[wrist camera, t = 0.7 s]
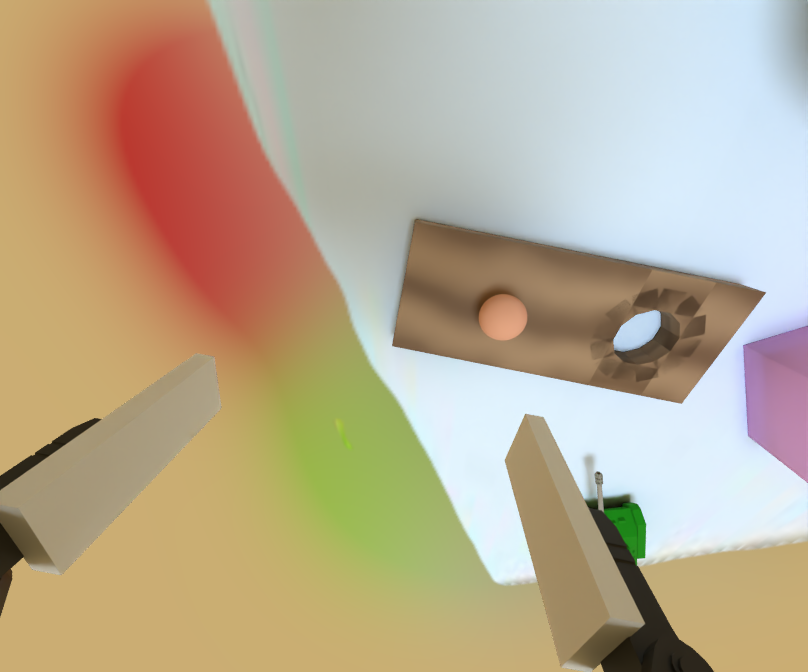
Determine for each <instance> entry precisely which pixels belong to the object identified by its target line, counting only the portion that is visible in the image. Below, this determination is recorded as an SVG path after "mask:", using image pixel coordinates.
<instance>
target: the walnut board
mask: <svg viewBox="0 0 808 672" xmlns="http://www.w3.org/2000/svg"><path fill="white" fill-rule="evenodd" d="M765 293H766V292H763V291H760V290H756V289H753V288H750V287H747V286H744V285H741V284H737V283H732V282H727V281H722V280H717V279H712V278H707V277H702V276H697V275H692V274H687V273H682V272H677V271H672V270H667V269H662V268H657V267H652V266H647V265H642V264H637V263H632V262H627V261H622V260H617V259H612V258H607V257H602V256H597V255H592V254H587V253H582V252H577V251H572V250H567V249H563V248H558V247H553V246H548V245H543V244H538V243H533V242H528V241H523V240H518V239H513V238H508V237H503V236H498V235H493V234H488V233H483V232H478V231H473V230H468V229H463V228H458V227H453V226H448V225H443V224H438V223H433V222H428V221H423V220H418V219H416V221H415V224H414V230H413V235H412V241H411V246H410V252H409V257H408V262H407V268H406V273H405V279H404V284H403V289H402V295H401V300H400V306H399V311H398V317H397V322H396V327H395V333H394V338H393V344H392V346H395V347H400V348H405V349H410V350H415V351H420V352H425V353H430V354H435V355H440V356H445V357H450V358H455V359H460V360H465V361H470V362H475V363H480V364H485V365H490V366H495V367H500V368H505V369H510V370H515V371H520V372H525V373H530V374H535V375H540V376H545V377H550V378H555V379H560V380H566V381H571V382H576V383H581V384H586V385H591V386H596V387H601V388H606V389H611V390H616V391H621V392H626V393H631V394H636V395H641V396H646V397H651V398H656V399H661V400H666V401H671V402H676V403H681V404H682V402H683V401H684V400H685V398H686V397H687V396H688V395H689V393H690V392H691V391H692V389H693V388H694V387H695V385H696V384H697V383H698V381H699V380H700V379H701V377H702V376H703V375H704V374H705V372H706V371H707V370H708V368H709V367H710V366H711V364H712V363H713V362H714V360H715V359H716V358H717V356H718V355H719V354H720V353H721V351H722V350H723V349H724V347H725V346H726V345H727V343H728V342H729V341H730V339H731V338H732V337H733V335H734V334H735V333H736V331H737V330H738V329H739V328H740V326H741V325H742V324H743V322H744V321H745V320H746V318H747V317H748V316H749V314H750V313H751V312H752V310H753V309H754V308H755V307H756V305H757V304H758V303H759V301H760V300H761V299H762V297H763V296H764V295H765ZM499 294H508V295H512V296H514V297H516V298H518V299H519V300H520V301H521V302H522V303H523V304H524V306H525V308H526V311H527V323H526V326H525V328H524V330H523V331H522V332H521V333H520V334H519V335H518V336H516V337H515V338H513V339H510V340H504V341H501V340H495V339H493V338H491V337H489V336H487V335H486V334H485V333H484V332H483V330H482V329H481V327H480V324H479V312H480V309H481V307H482V305H483V304H484V303H485V302H486V301H487V300H488V299H489V298H491V297H493V296H495V295H499ZM653 310H657V311H660V312H661V327H660V329H659V331H658V332H657V334H656V335H655V337H654V338H653V340H651V341H650V342H648V343H647V344H645V345H644V346H642V347H641V348H639V349H636V350H631V351H627V352H620V351H615V350H614V345H613V339H614V337H615V336H616V334H617V332H618V330H619V328H620V327H621V325H623V324H624V323H625V322H627V321H628V320H630V319H631V318H632V317H634V316H635V315H637V314H641V313H645V312H649V311H653Z"/></svg>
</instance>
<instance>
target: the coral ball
mask: <svg viewBox="0 0 808 672" xmlns="http://www.w3.org/2000/svg"><path fill="white" fill-rule="evenodd" d="M526 323H527V311H526V308H525V306H524V304H523V303H522V302H521V301H520V300H519V299H518V298H516V297H514V296H512V295H508V294H499V295H495V296H493V297H491V298H489V299H488V300H487V301H486V302H485V303H484V304H483V305H482V307H481V309H480V312H479V324H480V327H481V329H482V330H483V332H484V333H485V334H486V335H487V336H489V337H491V338H493V339H495V340H501V341H504V340H510V339H513V338H515V337H516V336H518V335H519V334H520V333H521V332H522V331H523V330H524V328H525V326H526Z"/></svg>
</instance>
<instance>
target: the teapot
mask: <svg viewBox="0 0 808 672" xmlns="http://www.w3.org/2000/svg"><path fill="white" fill-rule="evenodd" d="M743 349H744V368H745V387H746V406H747V425H748V436H749V437H750V438H752V439H753V440H754V441H755V442H757V443H758V444H759V445H760V446H762V447H763V448H764V449H765V450H767V451H768V452H769V453H771V454H772V455H773V456H774V457H776V458H777V459H778V460H779V461H781V462H782V463H783V464H784V465H786V466H787V467H788V468H790V469H791V470H792V471H793V472H795V473H796V474H797V475H798V476H800V477H801V478H802V479H803V480H805V481H806V482H807V483H808V326H805V327H802V328H799V329H795V330H792V331H789V332H786V333H782V334H779V335H776V336H772V337H769V338H766V339H763V340H759V341H756V342H753V343H749V344H746V345H743Z"/></svg>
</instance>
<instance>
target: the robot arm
mask: <svg viewBox="0 0 808 672" xmlns="http://www.w3.org/2000/svg"><path fill="white" fill-rule="evenodd" d="M220 409H221V402H220V395H219V388H218V380H217V373H216V365H215V358H214V357H213V356H207V355H202V354H195V355H193V356H192V357H190V358H189V359H188V360H186V361H185V362H183V363H182V364H180V365H179V366H177V367H176V368H175V369H173V370H172V371H170V372H169V373H168V374H166V375H165V376H163V377H162V378H160V379H159V380H157V381H156V382H155V383H153V384H152V385H150V386H149V387H147V388H146V389H145V390H143V391H142V392H140V393H139V394H137V395H136V396H134V397H133V398H132V399H130V400H129V401H127V402H126V403H124V404H123V405H122V406H120V407H119V408H117V409H116V410H114V411H113V412H112V413H110V414H109V415H107V416H106V417H105V418H103V419H97V418H94V419H92V420H89V421H87V422H85V423H83V424H80V425H78V426H76V427H73V428H72V429H70V430H68V431H67V432H65V433H64V434H63V435H61V436H60V437H58V438H56V439H55V440H53V441H52V443H51V444H47V445H46V446H44V447H43V448H41V449H40V450H39V451H37V452H36V453H35V455H33V456H32V455H31V456H30V457H28V458H26V459H25V460H23V461H22V462H20V463H19V464H17V465H16V466H14V467H13V468H11V469H10V470H8V471H7V472H5V473H4V474H2V475H1V476H0V616H1V613H2V610H3V607H4V603H5V600H6V597H7V593H8V590H9V587H10V584H11V581H12V570H11V568H12V567H13V566H14V565H15V564H16V563H17V562H18V561H19V560H21V559H22V558H23V557H24V559H25V560H26V562H27V563H28V564H29V566H30V567H31V569H32V570H37V571H42V572H47V573H52V574H58V575H62V574H63V573H64V572H65V571H66V570H67V569H68V568H69V567H70V566H71V565H72V564H73V562H74V561H76V560H77V558H78V557H79V556H80V555H81V554H82V553H83V552H84V551H85V550H86V549H87V548H88V547H89V546H90V545H91V544H92V543H93V542H94V541H95V540H96V539H97V538H98V536H99V535H100V534H101V533H102V532H103V531H104V530H105V529H106V528H107V527H108V526H109V525H110V524H111V523H112V522H113V521H114V520H115V519H116V518H117V517H118V515H120V514H121V513H122V511H123V510H124V509H125V508H126V507H127V506H128V505H129V504H130V503H131V502H132V501H133V500H134V499H135V498H136V497H137V496H138V495H139V494H140V493H141V491H143V490H144V489H145V487H146V486H147V485H148V484H149V483H150V482H151V481H152V480H153V479H154V478H155V477H156V476H157V475H158V474H159V473H160V472H161V471H162V470H163V469H164V468H165V467H166V466H167V464H168V463H169V462H170V461H171V460H172V459H173V458H174V457H175V456H176V455H177V454H178V453H179V452H180V451H181V450H182V449H183V448H184V447H185V446H186V445H187V443H189V442H190V440H191V439H192V438H193V437H194V436H195V435H196V434H197V433H198V432H199V431H200V430H201V429H202V428H203V427H204V426H205V425H206V424H207V423H208V422H209V420H211V418H212V417H213V416H214V415H215V414H216V413H217V412H218V411H219V410H220ZM505 463H506V467H507V470H508V474H509V478H510V481H511V485H512V489H513V492H514V496H515V500H516V504H517V507H518V511H519V515H520V518H521V522H522V526H523V529H524V533H525V537H526V540H527V544H528V548H529V552H530V555H531V559H532V563H533V566H534V570H535V574H536V577H537V581H538V585H539V588H540V592H541V595H542V599H543V603H544V607H545V610H546V614H547V618H548V621H549V625H550V629H551V632H552V636H553V640H554V644H555V647H556V651H557V655H558V658H559V662H560V666H561V667H562V668H567V669H573V670H578V671H584V672H591V671H592V670H594V669H595V668H596V667H597V666H598V665H599V664H600V663H601V665H602V668H603V671H604V672H714V671H713V670H712V668H711V667H710V666H709V664H708V663H707V662H706V661H705V660H704V659H703V658H702V657H701V656H700V655H699V654H698V653H697V652H696V651H695V650H693V648H691V647H690V646H688V645H686V644H685V643H684V642H682V641H681V640H679V639H678V637H677V635H676V634H675V632H674V631H673V629H672V627H671V626H670V624H669V622H668V620H667V618H666V616H665V615H664V613H663V611H662V609H661V607H660V606H659V604H658V602H657V600H656V598H655V596H654V595H653V593H652V591H651V589H650V587H649V585H648V584H647V582H646V580H645V578H644V576H643V574H642V573H641V571H640V569H639V567H638V566H636V564H635V563H636V562H635V560H634V558H633V556H632V554H631V553H630V551H629V550H627V545H626V543H625V542H624V540H623V538H622V536H621V534H620V533H619V531H618V529H617V527H616V526H615V525H614V524H613V523H612V522H611V520H610V519H609V518H608V517H607V516H606V515H605V514H604V512H603V511H602V510H597V509H591V508H588V507H587V505H586V502H585V500H584V498H583V496H582V494H581V492H580V490H579V488H578V486H577V484H576V482H575V480H574V478H573V476H572V474H571V472H570V470H569V468H568V466H567V464H566V462H565V460H564V458H563V456H562V454H561V452H560V450H559V448H558V446H557V444H556V442H555V439H554V437H553V435H552V433H551V431H550V429H549V427H548V425H547V423H546V421H545V419H544V417H540V416H534V415H529V414H525V416H524V418H523V420H522V423H521V425H520V427H519V429H518V432H517V434H516V436H515V438H514V441H513V443H512V445H511V447H510V450H509V452H508V454H507V456H506V459H505Z"/></svg>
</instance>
